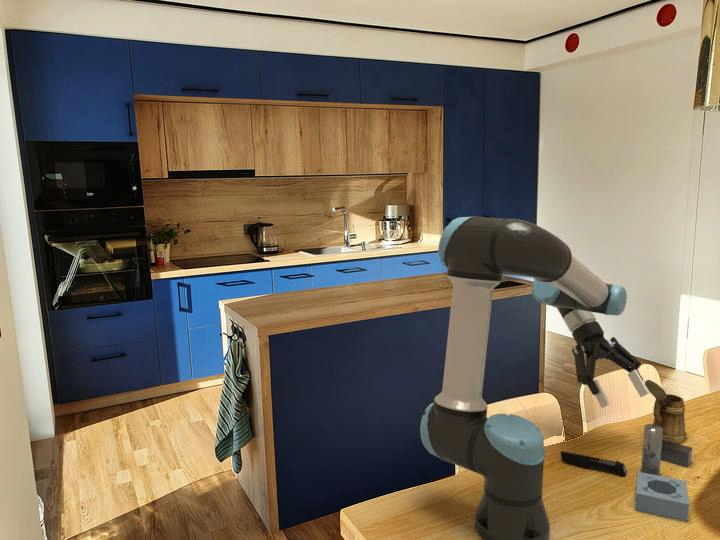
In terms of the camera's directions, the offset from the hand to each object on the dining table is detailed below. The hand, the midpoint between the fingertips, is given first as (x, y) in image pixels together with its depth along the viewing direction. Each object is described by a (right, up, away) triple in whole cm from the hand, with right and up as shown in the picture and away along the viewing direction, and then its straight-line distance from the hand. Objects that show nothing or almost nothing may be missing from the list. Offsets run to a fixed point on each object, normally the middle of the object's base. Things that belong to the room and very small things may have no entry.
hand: (626, 400), depth 144 cm
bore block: (0, -19, -16) cm, 25 cm away
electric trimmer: (-8, -17, 0) cm, 19 cm away
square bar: (+12, -16, +3) cm, 20 cm away
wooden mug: (+17, -14, +14) cm, 26 cm away
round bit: (+4, -17, -4) cm, 18 cm away
